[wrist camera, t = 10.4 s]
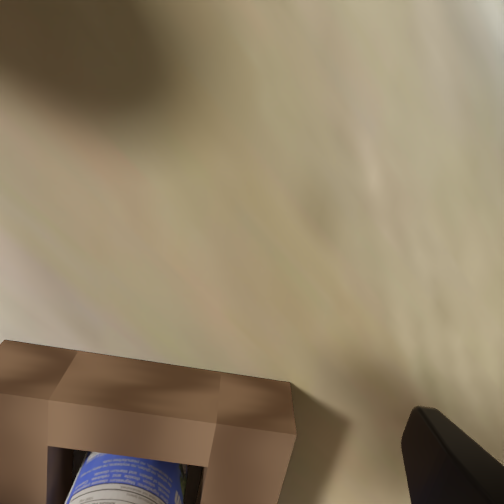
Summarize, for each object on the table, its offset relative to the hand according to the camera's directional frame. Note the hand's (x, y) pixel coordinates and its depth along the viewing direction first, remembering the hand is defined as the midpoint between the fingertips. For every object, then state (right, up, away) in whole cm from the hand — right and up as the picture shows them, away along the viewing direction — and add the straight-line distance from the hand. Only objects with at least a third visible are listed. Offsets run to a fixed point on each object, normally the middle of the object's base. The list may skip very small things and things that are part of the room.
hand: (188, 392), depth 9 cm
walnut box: (-5, -8, +15) cm, 18 cm away
